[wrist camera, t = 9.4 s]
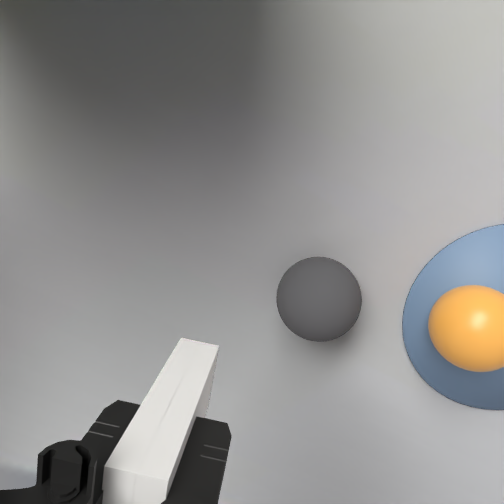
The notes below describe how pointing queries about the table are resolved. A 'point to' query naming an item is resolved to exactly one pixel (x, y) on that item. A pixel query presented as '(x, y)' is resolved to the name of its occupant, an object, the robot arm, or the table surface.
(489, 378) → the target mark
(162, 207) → the table surface
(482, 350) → the object ball
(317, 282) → the dark gray ball
